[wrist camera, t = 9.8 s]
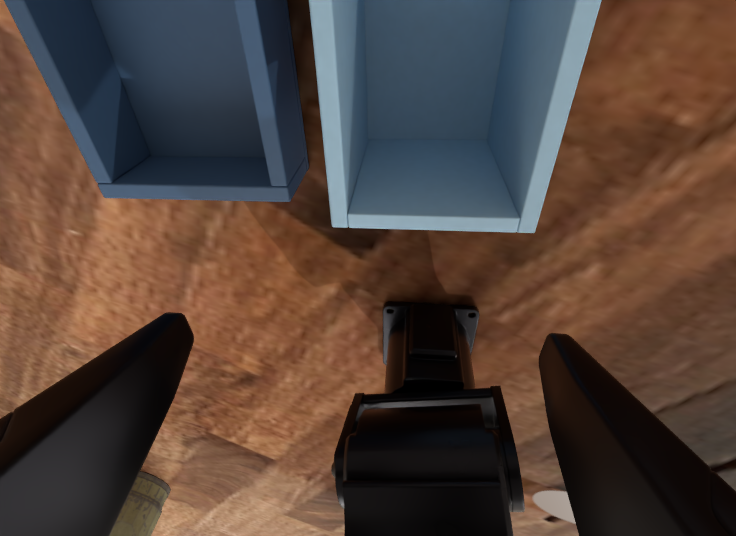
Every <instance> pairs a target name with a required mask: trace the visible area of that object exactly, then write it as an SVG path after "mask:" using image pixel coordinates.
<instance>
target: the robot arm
mask: <svg viewBox="0 0 736 536" xmlns="http://www.w3.org/2000/svg"><path fill="white" fill-rule="evenodd" d="M389 309H393V310H389ZM469 313H473V314H469ZM478 319H479V310H478V308H477V307H475V306H466V305H445V304H424V303H403V302H387V303H385V304H384V306H383V362H384V364H385V365H387V366H386V379H385V393H383V394H364V393H355V396H354V399H353V402H352V405H351V406H350V408H349V411H348V414H347V417H346V421H345V424H344V427H343V430H342V433H341V436H340V439H339V442H338V445H337V448H336V451H335V454H334V462H333V464H332V475H333V476H334V477H335V481H336V491H337V496H338V500H339V503H340V505H341V507H342V508H343V509H344V515H345V536H513V530H512V524H511V517H510V512H524V510H525V508H524V495H523V487H522V480H521V474H520V468H519V462H518V457H517V452H516V447H515V443H514V438H513V434H512V430H511V427H510V423H509V419H508V415H507V411H506V407H505V403H504V399H503V395H502V392H501V388H500V386H490V388H478V389H475V383H474V376H473V369H472V362H471V352H472V347H473V343H474V338H475V333H476V329H477V324H478ZM193 342H194V336H193V332H192V330H191V328H190V326H189V324H188V321H187V319H186V317H185V315H183V314H182V313H171V312H168V313H165V314H163V315H161V316H160V317H158V318H157V319H155V320H153V321H152V322H150V323H149V324H147V325H146V326H144V327H143V328H141V329H139V330H138V331H136V332H135V333H133V334H132V335H130V336H129V337H127V338H125V339H124V340H122V341H121V342H119V343H118V344H116V345H115V346H113V347H111V348H110V349H108V350H107V351H105V352H104V353H102V354H101V355H99V356H97V357H96V358H94V359H93V360H91V361H90V362H88V363H87V364H85V365H83V366H82V367H80V368H79V369H77V370H76V371H74V372H72V373H71V374H69V375H68V376H66V377H65V378H63V379H62V380H60V381H58V382H57V383H55V384H54V385H52V386H51V387H49V388H48V389H46V390H44V391H43V392H41V393H40V394H38V395H37V396H35V397H34V398H32V399H30V400H29V401H27V402H26V403H24V404H23V405H21V406H20V407H18V408H16V409H15V410H14V412H10V413H8V414H7V415H5V416H4V417H2V418H1V419H0V536H110V534H111V532H112V529H113V527H114V525H115V523H116V521H117V519H118V517H119V515H120V512H121V510H122V508H123V506H124V504H125V502H126V500H127V497H128V495H129V493H130V491H131V489H132V487H133V485H134V483H135V480H136V478H137V476H138V474H139V472H140V470H141V468H142V466H143V463H144V461H145V459H146V457H147V455H148V453H149V451H150V448H151V446H152V444H153V442H154V440H155V438H156V436H157V434H158V431H159V429H160V427H161V425H162V423H163V421H164V419H165V417H166V414H167V412H168V410H169V408H170V406H171V404H172V401H173V399H174V397H175V394H176V392H177V389H178V386H179V383H180V380H181V377H182V375H183V372H184V369H185V366H186V363H187V360H188V357H189V354H190V351H191V349H192V346H193ZM539 369H540V375H541V381H542V387H543V394H544V400H545V406H546V413H547V418H548V424H549V428H550V432H551V436H552V440H553V444H554V447H555V451H556V454H557V458H558V461H559V465H560V468H561V472H562V476H563V479H564V483H565V486H566V490H567V493H568V497H569V500H570V504H571V507H572V511H573V514H574V518H575V522H576V525H577V529H578V533H579V536H736V491H735V490H734V489H733V488H732V487H730V486H729V485H728V484H727V483H726V482H725V481H724V480H723V479H722V478H721V477H720V476H719V475H718V474H717V473H715V472H714V471H711V469H710V467H709V466H708V465H707V464H706V463H705V462H704V461H703V460H702V459H700V458H699V457H698V456H697V455H696V454H695V453H694V452H693V451H692V450H691V449H690V448H689V447H688V446H687V445H686V444H684V443H683V442H682V441H681V440H680V439H679V438H678V437H677V436H676V435H675V434H674V433H673V432H672V431H671V430H670V429H669V428H667V427H666V426H665V425H664V424H663V423H662V422H661V421H660V420H659V419H658V418H657V417H656V416H655V415H654V414H653V413H651V412H650V411H649V410H648V409H647V408H646V407H645V406H644V405H643V404H642V403H641V402H640V401H639V400H638V399H637V398H635V397H634V396H633V395H632V394H631V393H630V392H629V391H628V390H627V389H626V388H625V387H624V386H623V385H622V384H621V383H620V382H618V381H617V380H616V379H615V378H614V377H613V376H612V375H611V374H610V373H609V372H608V371H607V370H606V369H605V368H604V367H602V366H601V365H600V364H599V363H598V362H597V361H596V360H595V359H594V358H593V357H592V356H591V355H590V354H589V353H588V352H587V351H585V350H584V349H583V348H582V347H581V346H580V345H579V344H578V343H577V342H576V341H575V340H574V339H573V338H572V337H570V336H569V335H567V334H557V333H551V334H549V335H548V336H547V337H546V340H545V342H544V345H543V348H542V350H541V353H540V356H539Z"/></svg>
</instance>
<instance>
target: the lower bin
mask: <svg viewBox="0 0 736 536" xmlns="http://www.w3.org/2000/svg"><path fill="white" fill-rule="evenodd" d="M4 1H5V3H6V5H7V7H8V9H9V11H10V13H11V15H12V17H13V19H14V21H15V23H16V25H17V27H18V29H19V31H20V33H21V35H22V37H23V39H24V41H25V43H26V45H27V47H28V49H29V51H30V53H31V54H32V56H33V58H34V60H35V62H36V64H37V66H38V68H39V70H40V72H41V74H42V76H43V78H44V80H45V82H46V84H47V86H48V88H49V90H50V92H51V94H52V96H53V98H54V100H55V102H56V104H57V106H58V108H59V110H60V112H61V114H62V116H63V118H64V120H65V122H66V123H67V125H68V127H69V129H70V131H71V133H72V135H73V137H74V139H75V141H76V143H77V145H78V147H79V149H80V151H81V153H82V155H83V157H84V159H85V161H86V163H87V165H88V167H89V169H90V171H91V173H92V175H93V177H94V179H95V181H96V182H97V183H98V186H99V188H100V190H101V192H102V194H103V196H104V197H105V198H135V199H179V200H224V201H269V202H290V201H291V199H292V197H293V195H294V194H295V192H296V190H297V188H298V186H299V184H300V183H301V181H302V179H303V177H304V175H305V174H306V171H308V169H309V164H308V156H307V148H306V141H305V133H304V125H303V118H302V110H301V103H300V95H299V87H298V80H297V72H296V64H295V57H294V49H293V41H292V34H291V26H290V19H289V11H288V3H287V0H4Z"/></svg>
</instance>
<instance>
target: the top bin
mask: <svg viewBox="0 0 736 536" xmlns="http://www.w3.org/2000/svg"><path fill="white" fill-rule="evenodd" d="M600 4H601V0H309V7H310V17H311V27H312V36H313V46H314V56H315V66H316V76H317V86H318V95H319V105H320V115H321V125H322V135H323V145H324V155H325V164H326V174H327V184H328V194H329V204H330V214H331V223H332V227H345V228H346V227H348V226H349V228H375V229H410V230H445V231H480V232H519V233H535V230H536V227H537V223H538V220H539V216H540V213H541V209H542V206H543V202H544V199H545V195H546V192H547V188H548V185H549V181H550V178H551V175H552V171H553V168H554V164H555V161H556V157H557V154H558V150H559V147H560V143H561V140H562V136H563V133H564V129H565V126H566V122H567V119H568V115H569V112H570V108H571V105H572V101H573V98H574V94H575V91H576V87H577V84H578V80H579V77H580V73H581V70H582V66H583V63H584V60H585V56H586V53H587V49H588V46H589V42H590V39H591V35H592V32H593V28H594V25H595V21H596V18H597V14H598V11H599V7H600Z"/></svg>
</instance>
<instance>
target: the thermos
mask: <svg viewBox="0 0 736 536" xmlns="http://www.w3.org/2000/svg"><path fill="white" fill-rule="evenodd" d="M169 493H170V488H169V486H168V485H167V484H166V483H165V482H164V481H162V480H160V479H158V478H157V477H155V476H152V475H150V474H147V473H144V472H141V471H140V472H139V474H138V476H137V478H136V480H135V483H134V485H133V487H132V489H131V491H130V493H129V495H128V497H127V500H126V502H125V504H124V506H123V508H122V510H121V512H120V515H119V517H118V519H117V521H116V523H115V525H114V527H113V529H112V532H111V534H110V536H151V534H152V532H153V530H154V528H155V526H156V524H157V521H158V519H159V517H160V515H161V512H162V511H161V510H162V507H163V505H164V502H165V500H166V498H167V497H168V495H169Z"/></svg>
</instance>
